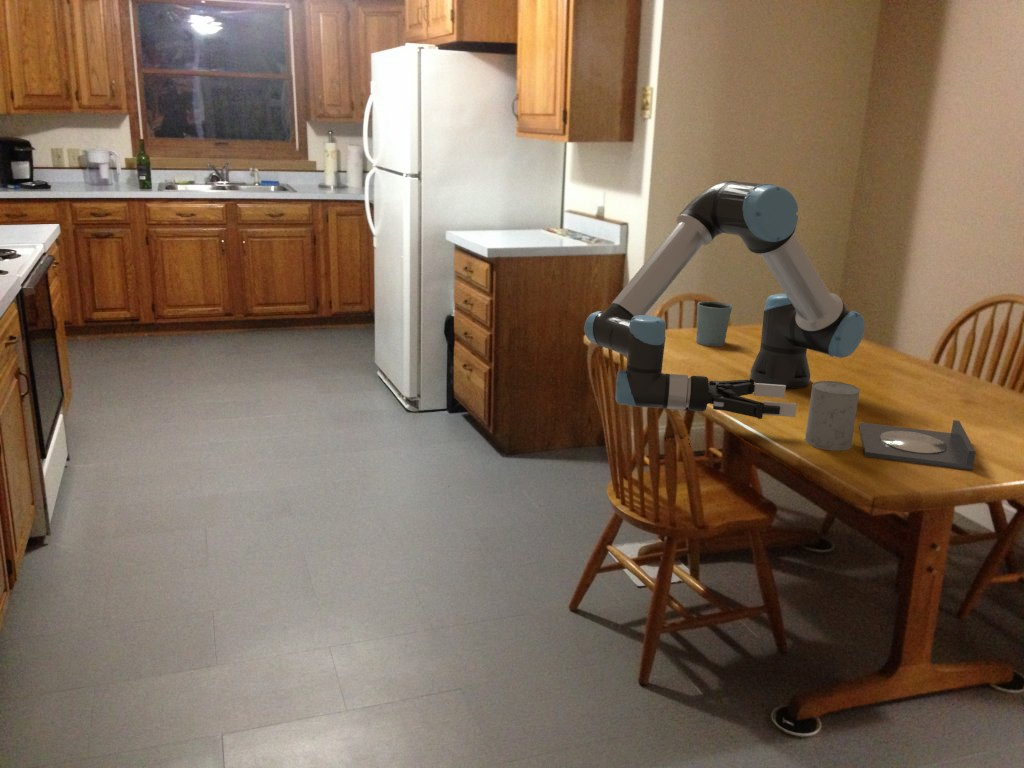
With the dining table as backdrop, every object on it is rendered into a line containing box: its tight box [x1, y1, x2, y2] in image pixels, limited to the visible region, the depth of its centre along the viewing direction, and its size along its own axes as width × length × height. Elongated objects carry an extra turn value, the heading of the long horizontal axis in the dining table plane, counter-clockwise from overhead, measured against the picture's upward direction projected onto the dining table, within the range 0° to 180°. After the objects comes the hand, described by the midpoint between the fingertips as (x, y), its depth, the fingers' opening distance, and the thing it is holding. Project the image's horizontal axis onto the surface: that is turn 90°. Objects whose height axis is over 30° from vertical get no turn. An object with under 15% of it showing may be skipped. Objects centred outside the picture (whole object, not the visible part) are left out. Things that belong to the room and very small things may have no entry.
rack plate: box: [858, 419, 976, 471], centre depth 188 cm, size 20×20×4 cm
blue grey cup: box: [695, 300, 733, 347], centre depth 271 cm, size 10×10×12 cm
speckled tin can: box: [804, 380, 861, 452], centre depth 188 cm, size 10×10×12 cm
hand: (790, 400), depth 188 cm, fingers open, 13 cm apart
